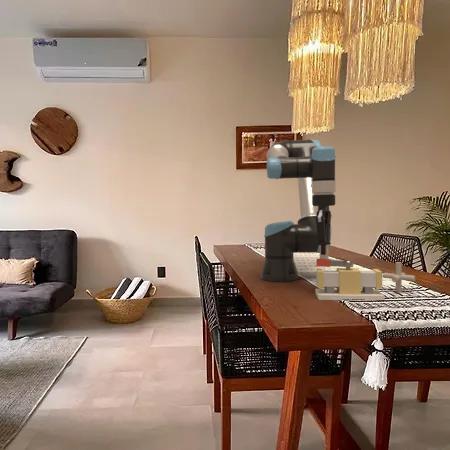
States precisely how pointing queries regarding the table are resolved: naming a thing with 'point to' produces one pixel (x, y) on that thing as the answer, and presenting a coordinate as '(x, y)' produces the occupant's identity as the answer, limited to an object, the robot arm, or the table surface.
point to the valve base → (349, 284)
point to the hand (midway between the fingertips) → (324, 263)
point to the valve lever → (334, 263)
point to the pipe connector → (398, 277)
